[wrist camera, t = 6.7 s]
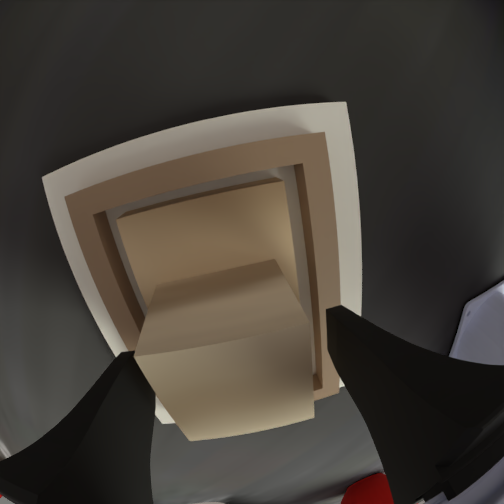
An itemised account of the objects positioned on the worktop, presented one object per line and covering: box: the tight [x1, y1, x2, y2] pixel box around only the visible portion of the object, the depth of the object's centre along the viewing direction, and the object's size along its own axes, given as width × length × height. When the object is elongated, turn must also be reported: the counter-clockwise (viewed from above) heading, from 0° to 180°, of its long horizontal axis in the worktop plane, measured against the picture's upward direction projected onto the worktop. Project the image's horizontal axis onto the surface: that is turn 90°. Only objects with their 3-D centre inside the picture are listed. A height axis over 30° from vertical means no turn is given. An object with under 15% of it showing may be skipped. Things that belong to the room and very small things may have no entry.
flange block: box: [116, 177, 314, 441], centre depth 10 cm, size 10×6×5 cm, turn 10°
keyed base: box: [42, 102, 362, 427], centre depth 12 cm, size 16×13×2 cm
